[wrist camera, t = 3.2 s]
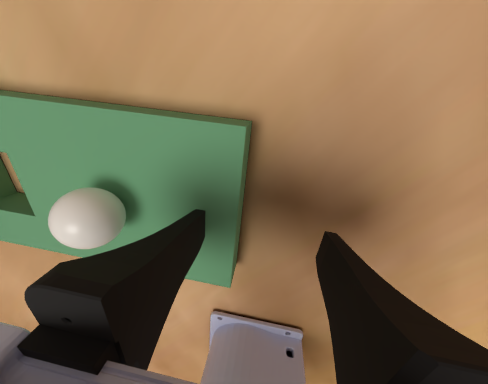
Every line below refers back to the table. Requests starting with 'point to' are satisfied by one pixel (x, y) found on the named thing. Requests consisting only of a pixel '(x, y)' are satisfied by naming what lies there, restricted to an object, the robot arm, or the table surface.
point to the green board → (124, 172)
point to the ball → (86, 218)
